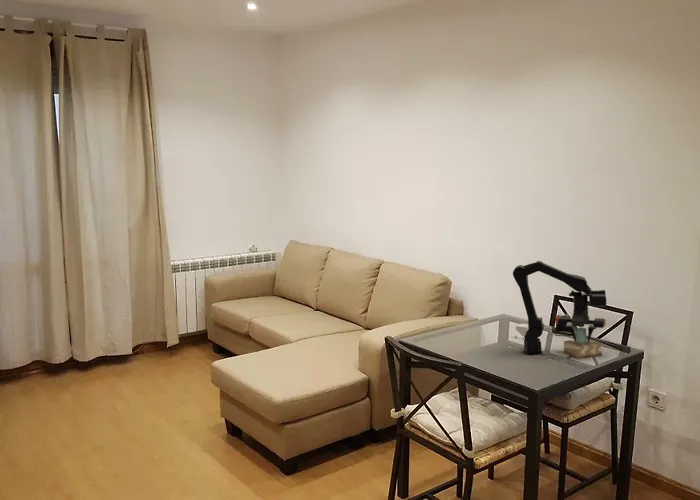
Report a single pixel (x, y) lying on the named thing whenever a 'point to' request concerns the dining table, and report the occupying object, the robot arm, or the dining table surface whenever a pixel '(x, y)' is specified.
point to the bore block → (582, 349)
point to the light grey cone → (522, 328)
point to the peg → (581, 336)
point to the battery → (559, 327)
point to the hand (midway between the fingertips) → (582, 341)
